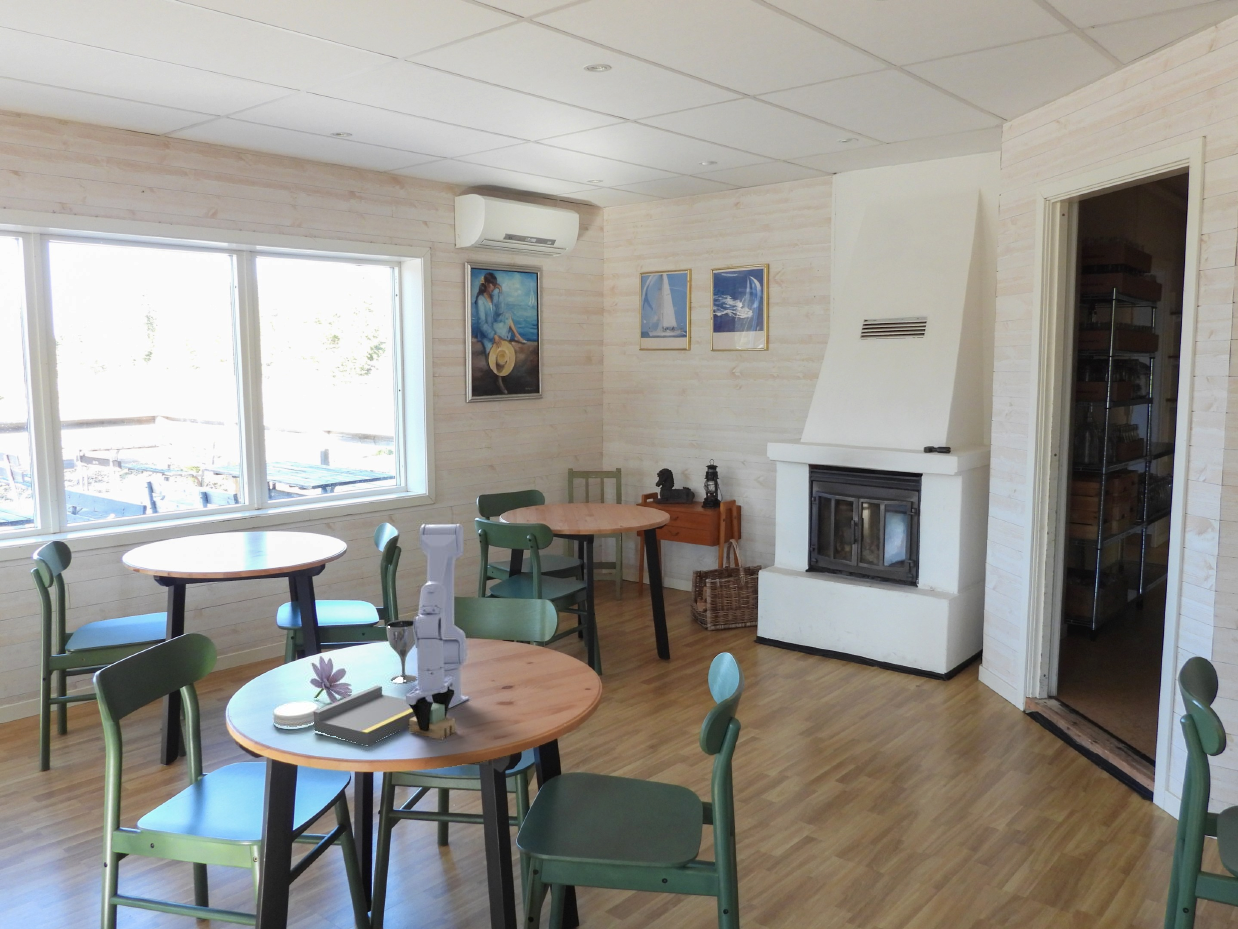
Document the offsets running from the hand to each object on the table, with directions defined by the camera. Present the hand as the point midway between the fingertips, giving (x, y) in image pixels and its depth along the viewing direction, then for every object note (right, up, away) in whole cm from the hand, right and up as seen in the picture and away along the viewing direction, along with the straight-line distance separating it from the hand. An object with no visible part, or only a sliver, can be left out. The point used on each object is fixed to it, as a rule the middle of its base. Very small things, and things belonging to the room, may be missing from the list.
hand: (432, 726), depth 210 cm
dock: (-15, -1, +5) cm, 15 cm away
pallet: (0, -1, 0) cm, 1 cm away
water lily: (-29, 0, +21) cm, 35 cm away
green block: (0, +2, 0) cm, 2 cm away
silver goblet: (-15, +2, +37) cm, 40 cm away
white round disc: (-33, -1, +7) cm, 34 cm away
